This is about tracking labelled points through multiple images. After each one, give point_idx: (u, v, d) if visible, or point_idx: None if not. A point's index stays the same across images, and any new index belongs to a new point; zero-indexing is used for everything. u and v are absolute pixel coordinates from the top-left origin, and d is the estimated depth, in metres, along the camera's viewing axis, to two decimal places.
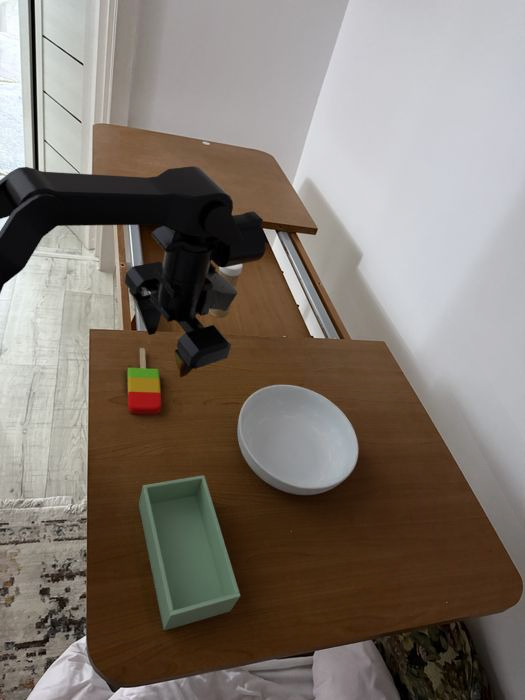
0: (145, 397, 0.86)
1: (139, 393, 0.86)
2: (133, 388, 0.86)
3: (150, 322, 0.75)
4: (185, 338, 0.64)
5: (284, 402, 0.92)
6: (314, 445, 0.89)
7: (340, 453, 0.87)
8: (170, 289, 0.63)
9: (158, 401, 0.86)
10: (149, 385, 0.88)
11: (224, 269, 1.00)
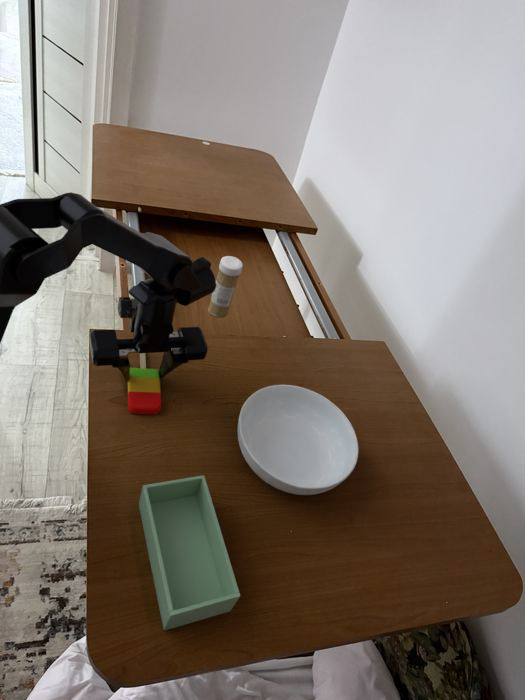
0: (145, 397, 0.86)
1: (139, 393, 0.86)
2: (133, 388, 0.86)
3: None
4: (189, 347, 0.84)
5: (284, 402, 0.92)
6: (314, 445, 0.89)
7: (340, 453, 0.87)
8: (168, 330, 0.79)
9: (158, 401, 0.86)
10: (149, 385, 0.88)
11: (224, 269, 1.00)
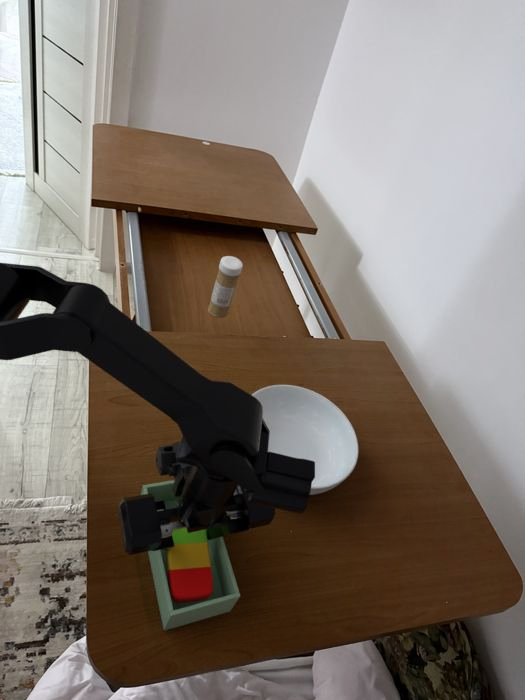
0: (191, 577, 0.64)
1: (184, 570, 0.64)
2: (175, 563, 0.64)
3: None
4: (253, 515, 0.62)
5: (284, 402, 0.92)
6: (314, 445, 0.89)
7: (340, 453, 0.87)
8: (229, 506, 0.57)
9: (209, 582, 0.64)
10: (196, 556, 0.66)
11: (224, 269, 1.00)
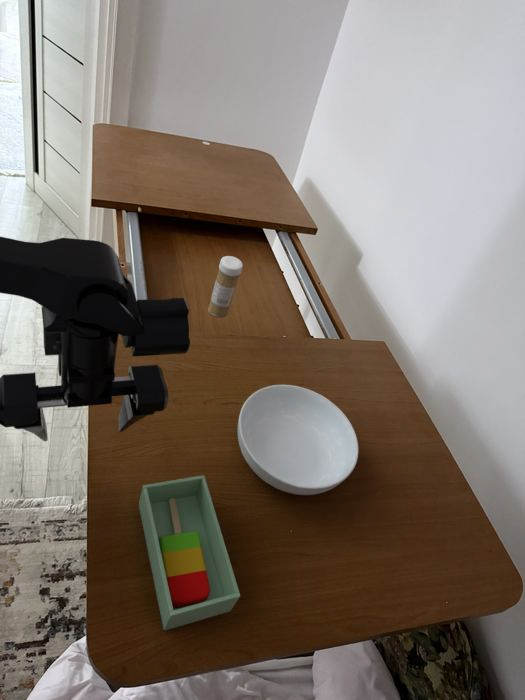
0: (188, 582, 0.66)
1: (180, 576, 0.66)
2: (172, 570, 0.66)
3: (46, 429, 0.62)
4: (142, 396, 0.60)
5: (284, 402, 0.92)
6: (314, 445, 0.89)
7: (340, 453, 0.87)
8: (107, 376, 0.55)
9: (206, 585, 0.66)
10: (191, 561, 0.68)
11: (224, 269, 1.00)
